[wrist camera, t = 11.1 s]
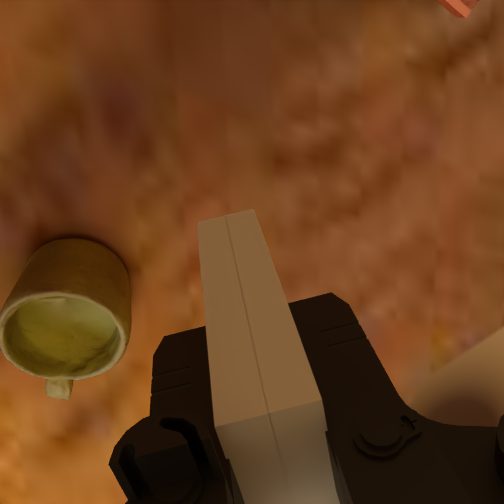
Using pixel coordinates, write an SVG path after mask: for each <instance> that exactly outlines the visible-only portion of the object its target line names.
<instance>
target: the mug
mask: <svg viewBox="0 0 504 504" xmlns="http://www.w3.org/2000/svg"><path fill="white" fill-rule="evenodd" d="M130 333H131V296H130V280H129V276H128V273H127V271H126V268H125V266H124V264H123V263H122V261H121V260H120V259H119V258H118V257H117V256H116V255H115V254H114V253H113V252H112V251H111V250H109V249H108V248H106V247H105V246H104V245H102V244H100V243H97V242H95V241H92V240H86V239H82V238H69V239H59V240H54V241H51V242H49V243H47V244H45V245H43V246H41V247H40V248H39V249H37V250H36V251H35V252H34V253H33V254H32V255H31V257H30V258H29V259H28V261H27V262H26V264H25V266H24V268H23V271H22V274H21V276H20V278H19V280H18V282H17V283H16V285H15V287H14V288H13V290H12V292H11V293H10V295H9V297H8V299H7V300H6V302H5V304H4V306H3V308H2V310H1V313H0V347H1V350H2V352H3V354H4V355H5V357H6V358H7V359H8V360H9V361H10V362H11V363H12V364H13V365H15V366H16V367H17V368H19V369H20V370H22V371H24V372H26V373H28V374H31V375H33V376H37V377H42V378H46V379H47V380H46V387H45V388H46V394H47V395H48V396H49V397H51V398H60V399H69V397H70V394H71V391H72V386H73V380H81V379H85V378H89V377H94V376H97V375H99V374H102V373H104V372H106V371H107V370H109V369H110V368H112V367H113V366H114V365H115V364H116V363H117V362H118V361H119V360H120V358H121V357H122V356H123V354H124V352H125V350H126V348H127V345H128V342H129V338H130Z"/></svg>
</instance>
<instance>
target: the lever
mask: <svg viewBox="0 0 504 504" xmlns="http://www.w3.org/2000/svg"><path fill="white" fill-rule="evenodd" d="M437 1H438V2H439V3H440V4H441V5H443V6H444V7H445V8H446V9H447V10H448V11H449V12H451V13H452V14H453V15H454V16H455V17H460V18H466V17H467V16H468V14H469V13H470V12H471V10H472V9H473V8H474V6H475V5H476V3H477V2H478V1H479V0H437Z"/></svg>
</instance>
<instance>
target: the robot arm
mask: <svg viewBox="0 0 504 504" xmlns="http://www.w3.org/2000/svg"><path fill="white" fill-rule="evenodd" d="M196 224H197V235H198V246H199V257H200V268H201V280H202V291H203V302H204V313H205V325H206V326H203V327H199V328H195V329H191V330H187V331H183V332H179V333H175V334H171V335H167V336H164V338H163V339H162V341H161V343H160V345H159V346H158V348H157V350H156V352H155V353H154V355H153V368H152V377H153V379H152V384H151V394H152V396H151V401H150V416H148V417H146V418H143V419H142V420H140V421H139V422H138V423H136V424H135V425H134V426H132V427H131V428H130V429H128V430H127V431H126V432H125V434H124V435H123V436H122V438H121V439H120V440H119V441H118V443H117V444H116V445H115V447H114V450H113V453H112V455H111V458H110V461H109V466H110V468H111V470H112V472H113V473H114V475H115V477H116V479H117V481H118V482H119V484H120V486H121V488H122V490H123V491H124V493H125V495H126V497H127V499H128V501H127V502H126V503H125V504H504V415H503V416H502V417H501V418H500V421H499V424H498V427H482V426H457V425H448V424H442V423H439V422H436V421H433V420H429V419H427V418H425V417H423V416H421V415H420V414H418V413H417V412H416V411H415V410H413V409H411V408H410V407H409V406H407V405H406V404H405V403H404V401H403V400H402V399H401V397H400V396H399V395H398V393H397V391H396V389H395V388H394V386H393V384H392V382H391V380H390V378H389V377H388V375H387V373H386V371H385V369H384V367H383V366H382V364H381V362H380V360H379V358H378V357H377V355H376V353H375V351H374V349H373V347H372V346H371V344H370V342H369V340H368V339H367V338H366V335H365V333H364V331H363V329H362V327H361V326H360V325H359V323H358V320H357V318H356V316H355V315H354V313H353V311H352V309H351V307H350V306H349V304H348V303H346V302H345V301H343V300H342V299H340V298H339V297H337V296H336V295H334V294H333V293H327V294H323V295H319V296H315V297H311V298H307V299H303V300H299V301H295V302H292V303H287V300H286V297H285V294H284V292H283V289H282V286H281V283H280V280H279V278H278V275H277V272H276V269H275V266H274V264H273V261H272V258H271V255H270V252H269V249H268V247H267V244H266V241H265V238H264V235H263V233H262V230H261V227H260V224H259V221H258V219H257V216H256V213H255V210H254V208H252V209H248V210H244V211H240V212H236V213H232V214H228V215H224V216H220V217H216V218H212V219H208V220H204V221H200V222H196Z"/></svg>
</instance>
